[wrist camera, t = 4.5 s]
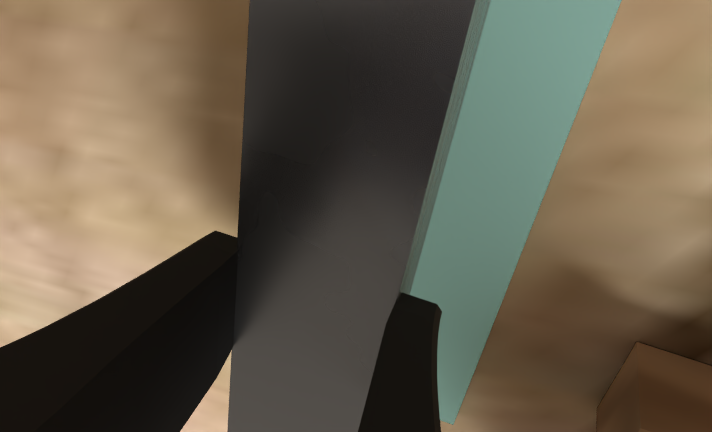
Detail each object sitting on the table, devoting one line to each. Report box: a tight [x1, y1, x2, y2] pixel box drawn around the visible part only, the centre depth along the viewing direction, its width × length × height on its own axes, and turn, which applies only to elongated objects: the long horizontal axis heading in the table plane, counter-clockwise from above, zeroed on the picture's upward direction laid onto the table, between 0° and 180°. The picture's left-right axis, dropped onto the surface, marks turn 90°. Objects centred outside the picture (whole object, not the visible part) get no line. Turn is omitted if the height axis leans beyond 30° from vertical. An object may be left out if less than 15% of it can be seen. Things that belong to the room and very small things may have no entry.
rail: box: [228, 0, 491, 432], centre depth 12 cm, size 16×3×3 cm, turn 171°
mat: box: [410, 0, 621, 425], centre depth 16 cm, size 20×7×1 cm, turn 171°
